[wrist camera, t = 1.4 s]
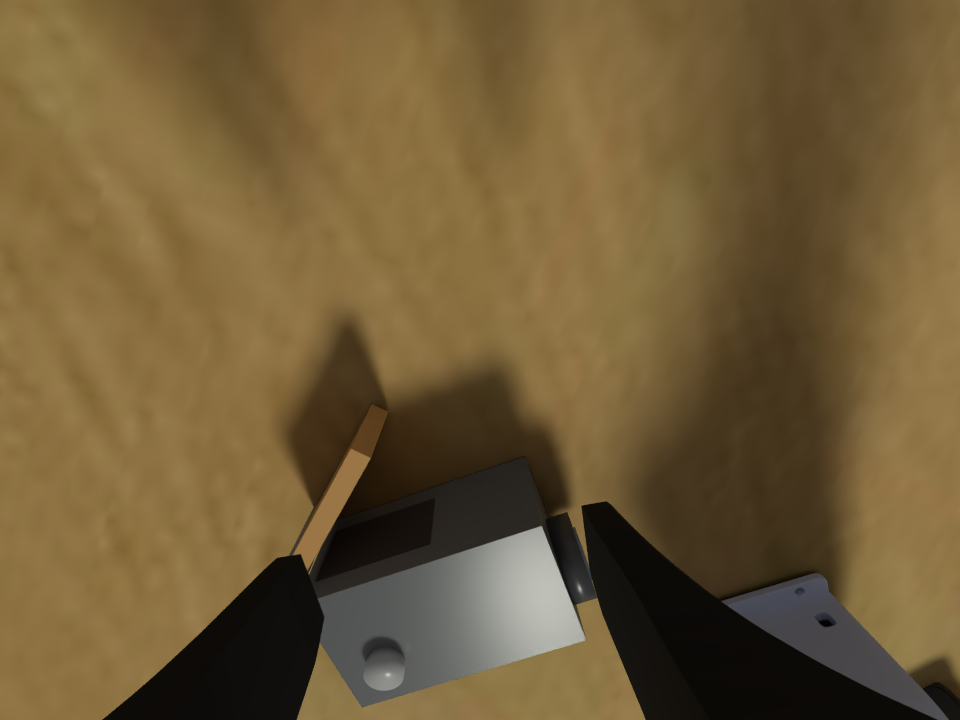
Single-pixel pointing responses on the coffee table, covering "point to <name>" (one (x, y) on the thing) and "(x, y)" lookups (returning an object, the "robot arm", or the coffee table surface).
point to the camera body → (449, 584)
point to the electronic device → (944, 700)
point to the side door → (340, 487)
